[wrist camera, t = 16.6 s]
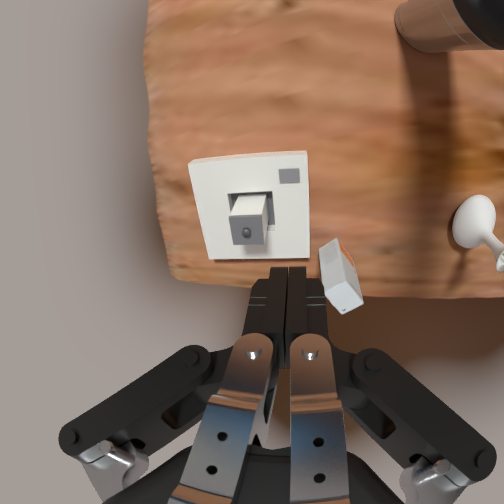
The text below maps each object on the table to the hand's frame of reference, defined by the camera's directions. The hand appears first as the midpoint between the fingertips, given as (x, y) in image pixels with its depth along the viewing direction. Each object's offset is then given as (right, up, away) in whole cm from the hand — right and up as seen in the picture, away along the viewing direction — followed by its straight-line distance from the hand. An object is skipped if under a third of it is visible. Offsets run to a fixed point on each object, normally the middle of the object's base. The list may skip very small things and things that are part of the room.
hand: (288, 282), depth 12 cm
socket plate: (-1, +9, +33) cm, 35 cm away
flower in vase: (+41, +8, +27) cm, 50 cm away
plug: (-1, +9, +33) cm, 34 cm away
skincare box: (+14, +1, +37) cm, 39 cm away
